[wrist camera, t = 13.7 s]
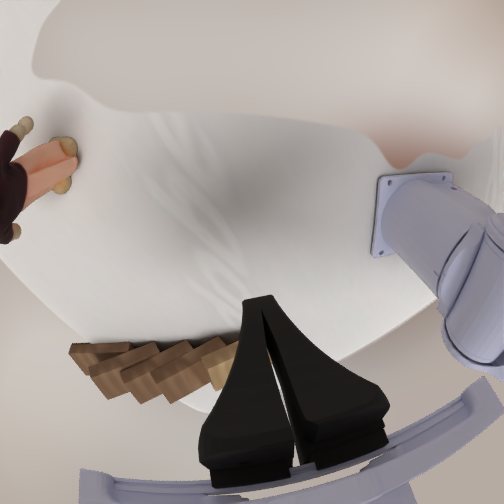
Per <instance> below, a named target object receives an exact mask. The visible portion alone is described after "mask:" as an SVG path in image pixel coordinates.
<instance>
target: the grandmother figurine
mask: <svg viewBox="0 0 504 504" xmlns="http://www.w3.org/2000/svg"><path fill="white" fill-rule="evenodd" d="M33 125H34V123H33V120H32V118H31V117H29V116H26V117H23V118H22V119H21V120H20V121H19V122H18V124H17V125H14V126H13V127H12V128H11V129H10V130H9V131H8V130H5V131H4V132H3V134H2V135H1V137H0V244H8V243H9V242H10V241H13V240H14V239H18V238H19V237H20V235H21V227H20V226H19V225H18V224H16V223H13V224H12V222H13V221H14V220H15V219H16V217H17V216H18V215H19V213H20V212H21V211H23V210H24V209H25V208H26V207H28V206H29V205H30V204H31V203H32V202H34V201H35V200H37V199H38V198H40V197H41V196H43V195H44V194H46V193H47V192H49V191H50V190H51V189H52V190H53V191H54V192H55V193H56V194H65V193H66V192H67V191H68V190H69V188H70V186H71V178H70V175H72V174H73V173H74V172H75V170H76V168H77V164H78V160H77V157H76V154H77V144H76V141H75V140H74V139H72V138H70V137H55V138H52V139H51V140H50V141H49V143H46V144H42V145H40V146H38V147H36V148H34V149H32V150H30V151H28V152H27V153H26V154H24V155H22V156H21V157H19V158H17V159H15V160H14V161H12V162H10V161H11V159H12V158H13V156H14V155H15V153H16V151H17V149H18V146H19V144H20V142H21V141H22V140H23V138H24V136H25V135H27V134H28V133H29V132H30V131H31V130H32V129H33Z"/></svg>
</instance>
